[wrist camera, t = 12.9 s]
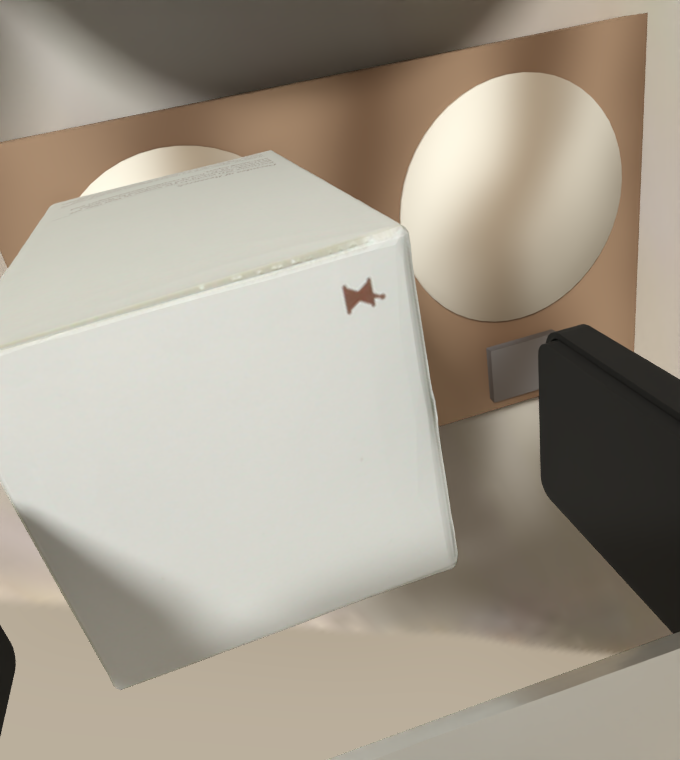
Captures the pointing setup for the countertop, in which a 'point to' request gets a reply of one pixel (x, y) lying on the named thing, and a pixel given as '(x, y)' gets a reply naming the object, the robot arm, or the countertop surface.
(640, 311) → the countertop surface
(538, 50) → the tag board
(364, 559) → the supplement box
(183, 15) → the countertop surface
